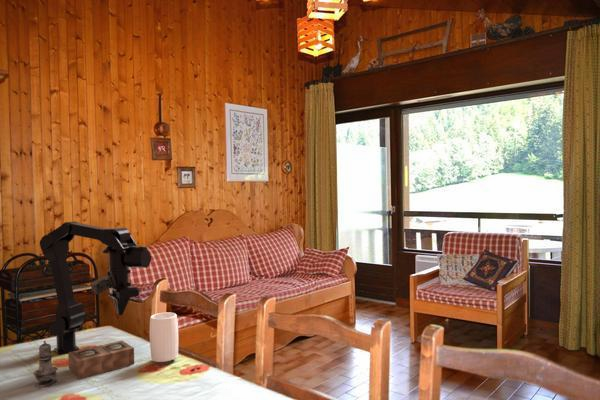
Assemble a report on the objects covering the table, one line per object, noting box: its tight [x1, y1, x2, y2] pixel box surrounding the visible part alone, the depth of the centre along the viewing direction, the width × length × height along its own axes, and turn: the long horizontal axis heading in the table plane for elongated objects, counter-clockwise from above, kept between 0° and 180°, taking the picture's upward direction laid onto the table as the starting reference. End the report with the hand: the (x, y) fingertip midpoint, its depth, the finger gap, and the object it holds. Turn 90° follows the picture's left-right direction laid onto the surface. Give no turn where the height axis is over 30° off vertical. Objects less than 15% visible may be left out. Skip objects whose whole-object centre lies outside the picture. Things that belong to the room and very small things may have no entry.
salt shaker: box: [33, 340, 58, 389], centre depth 127 cm, size 6×6×12 cm
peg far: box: [108, 344, 122, 350], centre depth 141 cm, size 4×4×5 cm
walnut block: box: [67, 340, 135, 380], centre depth 139 cm, size 16×10×5 cm, turn 131°
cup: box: [149, 311, 179, 363], centre depth 142 cm, size 8×8×14 cm
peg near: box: [80, 351, 95, 357], centre depth 136 cm, size 4×4×5 cm
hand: (120, 315), depth 148 cm, fingers closed
